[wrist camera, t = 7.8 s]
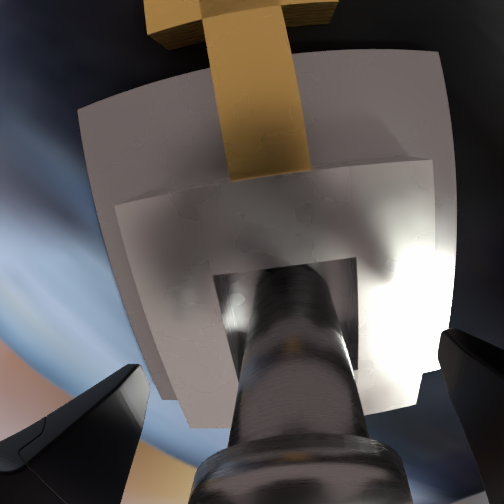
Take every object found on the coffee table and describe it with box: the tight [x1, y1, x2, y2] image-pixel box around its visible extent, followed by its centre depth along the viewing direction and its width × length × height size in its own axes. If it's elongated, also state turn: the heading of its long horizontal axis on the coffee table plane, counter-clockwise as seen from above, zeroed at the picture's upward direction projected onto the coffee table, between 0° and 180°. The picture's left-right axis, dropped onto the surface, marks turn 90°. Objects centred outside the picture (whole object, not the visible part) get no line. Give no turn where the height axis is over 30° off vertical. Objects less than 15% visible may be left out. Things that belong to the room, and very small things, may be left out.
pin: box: [188, 265, 413, 504], centre depth 8 cm, size 4×4×9 cm
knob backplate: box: [77, 0, 457, 428], centre depth 11 cm, size 14×17×2 cm
